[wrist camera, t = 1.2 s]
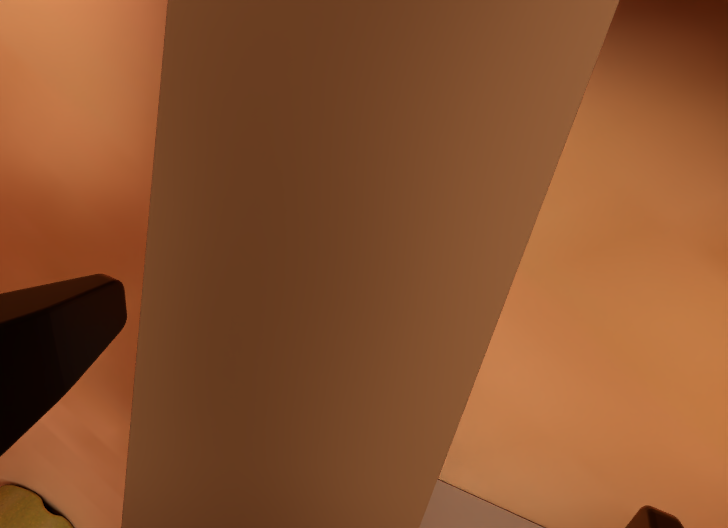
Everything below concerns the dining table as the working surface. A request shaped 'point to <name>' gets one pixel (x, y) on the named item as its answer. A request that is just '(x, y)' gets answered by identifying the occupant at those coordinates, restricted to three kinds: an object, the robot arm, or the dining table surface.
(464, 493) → the notch rack
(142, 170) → the dining table surface
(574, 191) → the dining table surface
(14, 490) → the plant pot
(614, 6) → the walnut bar
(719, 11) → the dining table surface
